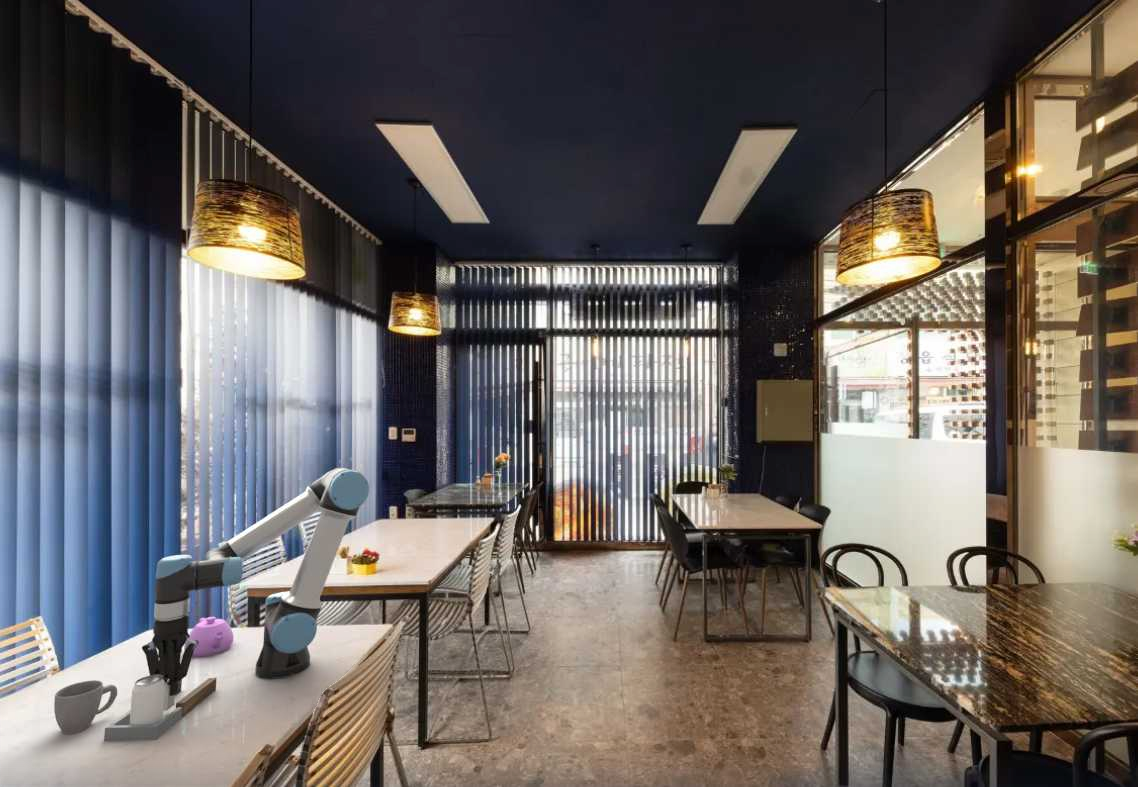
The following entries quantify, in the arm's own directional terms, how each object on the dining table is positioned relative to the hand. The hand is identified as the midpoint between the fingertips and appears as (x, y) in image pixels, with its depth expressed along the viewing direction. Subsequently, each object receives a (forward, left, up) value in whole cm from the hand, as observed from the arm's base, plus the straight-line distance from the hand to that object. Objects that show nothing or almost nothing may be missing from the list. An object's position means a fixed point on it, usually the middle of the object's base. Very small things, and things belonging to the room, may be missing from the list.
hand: (167, 707), depth 137 cm
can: (0, +7, -2) cm, 8 cm away
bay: (+1, +7, -2) cm, 7 cm away
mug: (+17, +5, -2) cm, 17 cm away
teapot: (+13, -40, -2) cm, 43 cm away
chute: (+1, -5, -2) cm, 5 cm away
